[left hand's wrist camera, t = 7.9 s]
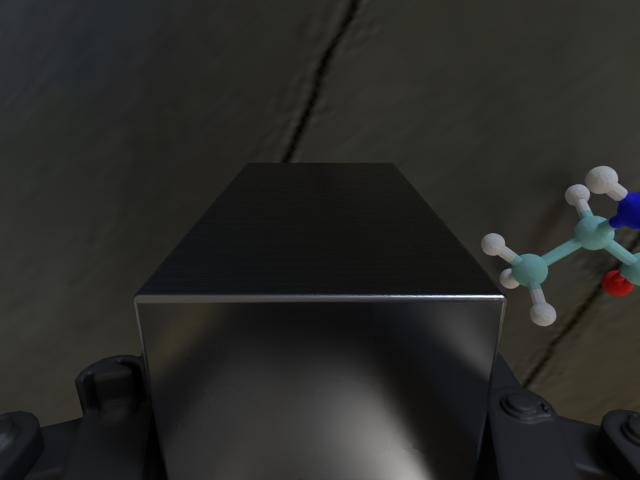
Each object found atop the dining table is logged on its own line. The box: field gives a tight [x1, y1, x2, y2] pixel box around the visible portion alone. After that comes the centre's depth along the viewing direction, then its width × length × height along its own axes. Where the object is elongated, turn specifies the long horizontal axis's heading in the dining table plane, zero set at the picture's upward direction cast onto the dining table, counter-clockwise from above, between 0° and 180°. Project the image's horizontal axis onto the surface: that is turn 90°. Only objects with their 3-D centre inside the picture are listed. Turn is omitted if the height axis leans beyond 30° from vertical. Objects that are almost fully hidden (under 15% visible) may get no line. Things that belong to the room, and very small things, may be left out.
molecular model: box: [481, 166, 640, 326], centre depth 22 cm, size 12×10×10 cm
